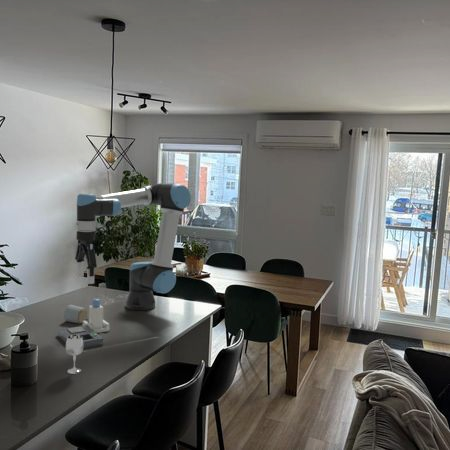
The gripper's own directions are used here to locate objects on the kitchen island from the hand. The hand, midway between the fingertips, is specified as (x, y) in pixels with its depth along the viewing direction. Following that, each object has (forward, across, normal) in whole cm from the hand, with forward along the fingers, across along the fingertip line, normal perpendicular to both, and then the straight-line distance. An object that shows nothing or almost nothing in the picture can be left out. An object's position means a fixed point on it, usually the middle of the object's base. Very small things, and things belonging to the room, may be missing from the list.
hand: (85, 280), depth 192 cm
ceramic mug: (+22, -12, +1) cm, 25 cm away
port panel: (+22, +12, -6) cm, 26 cm away
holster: (+22, +3, +4) cm, 22 cm away
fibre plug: (+21, +3, +4) cm, 22 cm away
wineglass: (+22, +38, -16) cm, 47 cm away
